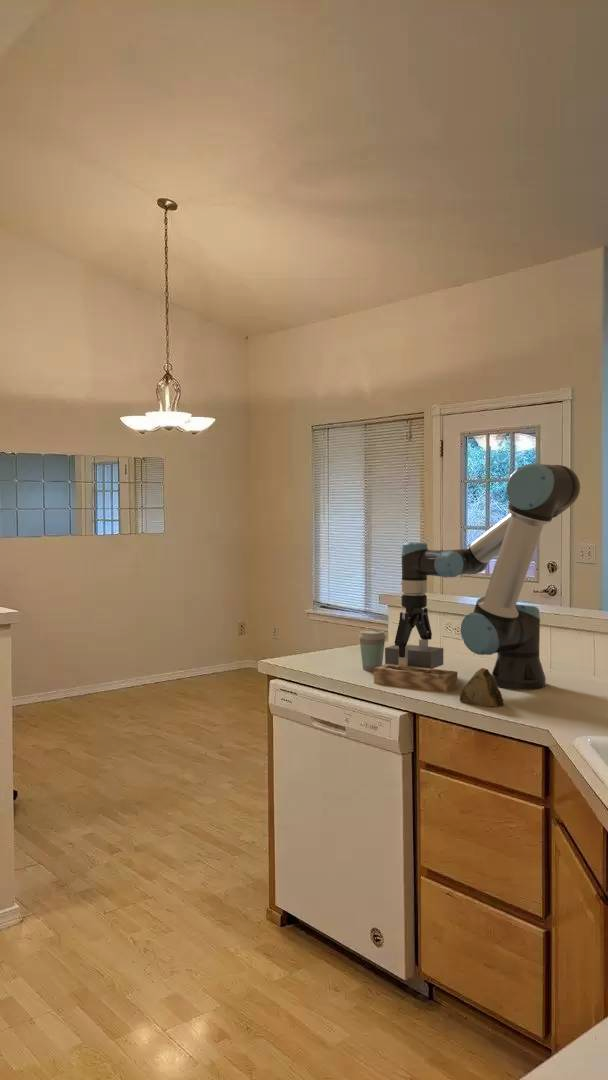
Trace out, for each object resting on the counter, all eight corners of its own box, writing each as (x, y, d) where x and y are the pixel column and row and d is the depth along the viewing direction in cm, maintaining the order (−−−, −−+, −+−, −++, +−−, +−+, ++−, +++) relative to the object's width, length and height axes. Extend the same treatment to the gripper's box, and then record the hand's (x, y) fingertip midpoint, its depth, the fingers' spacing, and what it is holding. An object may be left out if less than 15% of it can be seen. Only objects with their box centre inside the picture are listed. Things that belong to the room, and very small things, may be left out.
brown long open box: (457, 687, 241) (457, 671, 240) (445, 692, 234) (445, 676, 234) (386, 678, 253) (386, 663, 253) (373, 683, 247) (373, 668, 246)
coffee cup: (384, 672, 262) (384, 634, 262) (356, 671, 264) (356, 633, 264) (387, 667, 271) (387, 630, 270) (360, 666, 272) (360, 629, 272)
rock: (447, 693, 223) (471, 695, 214) (461, 665, 226) (485, 666, 217) (476, 715, 226) (500, 718, 217) (490, 687, 229) (514, 689, 220)
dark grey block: (443, 676, 255) (443, 648, 255) (430, 681, 248) (430, 652, 248) (398, 671, 264) (398, 643, 263) (385, 675, 256) (385, 647, 256)
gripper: (421, 589, 267) (420, 656, 268) (383, 597, 247) (382, 669, 248) (443, 591, 263) (442, 659, 264) (406, 598, 243) (405, 672, 244)
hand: (413, 664), depth 256 cm, fingers open, 13 cm apart
